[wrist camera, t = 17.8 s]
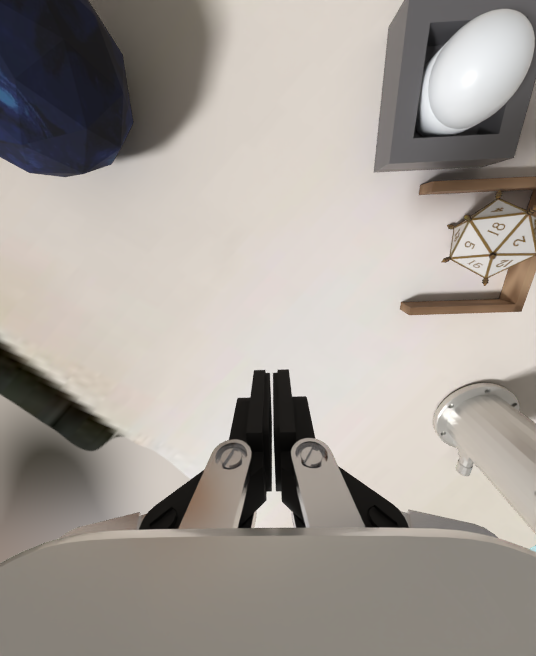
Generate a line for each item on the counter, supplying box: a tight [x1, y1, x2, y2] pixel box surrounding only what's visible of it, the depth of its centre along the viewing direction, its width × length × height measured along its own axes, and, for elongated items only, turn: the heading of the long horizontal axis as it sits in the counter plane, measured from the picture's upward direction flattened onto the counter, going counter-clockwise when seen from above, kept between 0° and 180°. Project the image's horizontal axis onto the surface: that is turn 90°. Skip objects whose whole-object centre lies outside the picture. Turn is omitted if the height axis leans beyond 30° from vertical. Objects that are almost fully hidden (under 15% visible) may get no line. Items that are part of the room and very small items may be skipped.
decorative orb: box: [0, 0, 133, 177], centre depth 20 cm, size 14×15×15 cm
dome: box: [415, 9, 535, 138], centre depth 21 cm, size 7×7×7 cm
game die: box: [442, 190, 536, 286], centre depth 27 cm, size 9×8×10 cm
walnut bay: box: [400, 176, 536, 315], centre depth 30 cm, size 15×14×2 cm
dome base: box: [374, 0, 536, 172], centre depth 24 cm, size 12×12×4 cm
